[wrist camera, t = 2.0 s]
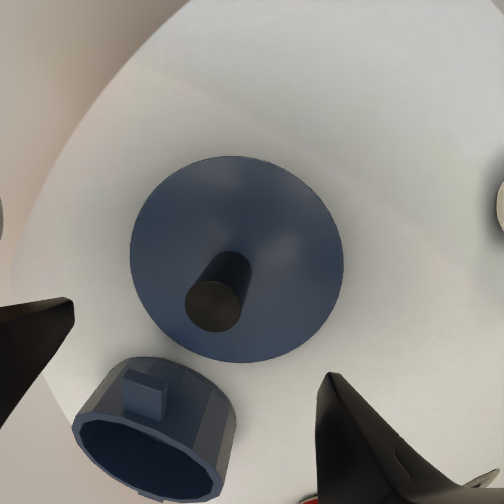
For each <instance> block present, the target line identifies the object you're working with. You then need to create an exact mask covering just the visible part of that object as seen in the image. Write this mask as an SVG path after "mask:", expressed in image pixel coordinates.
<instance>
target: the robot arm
mask: <svg viewBox="0 0 504 504" xmlns="http://www.w3.org/2000/svg"><path fill="white" fill-rule="evenodd" d="M74 322H75V316H74V304H73V301H72V300H70V299H68V298H65V297H59V298H53V299H47V300H41V301H35V302H29V303H23V304H17V305H11V306H4V307H0V429H1V427H2V426H3V424H4V423H5V421H6V420H7V418H8V417H9V415H10V414H11V413H12V411H13V410H14V408H15V407H16V405H17V404H18V403H19V401H20V400H21V398H22V397H23V396H24V394H25V393H26V391H27V390H28V389H29V387H30V386H31V385H32V383H33V382H34V381H35V379H36V378H37V377H38V375H39V374H40V373H41V372H42V370H43V369H44V368H45V366H46V365H47V364H48V363H49V361H50V360H51V359H52V357H53V356H54V355H55V353H56V352H57V350H58V349H59V347H60V346H61V344H62V343H63V341H64V339H65V338H66V336H67V335H68V333H69V332H70V330H71V329H72V327H73V326H74ZM315 447H316V466H317V491H318V504H504V488H469V487H463V486H460V485H458V484H456V483H454V482H453V481H451V480H450V479H449V478H447V477H446V476H445V475H444V474H442V473H441V472H440V471H439V470H437V469H436V468H435V467H434V466H432V465H431V464H430V463H429V462H427V461H426V460H425V459H424V458H423V457H422V456H420V455H419V454H418V453H417V452H416V451H415V450H414V449H413V448H412V447H411V446H410V445H409V444H408V443H407V442H406V441H405V440H404V439H403V438H402V437H399V434H398V433H397V432H396V431H395V430H394V429H393V428H392V427H391V426H390V425H389V424H388V423H387V422H386V421H385V420H384V419H383V418H382V417H381V416H380V415H379V414H378V413H377V412H376V411H375V410H374V409H373V408H372V407H371V406H370V405H369V404H368V403H367V402H366V400H365V399H364V398H363V397H362V396H361V395H360V394H359V393H358V392H357V391H356V390H355V389H354V388H353V387H352V386H351V385H350V384H349V383H348V382H347V381H346V380H345V379H344V377H343V376H342V375H341V374H339V373H333V372H328V373H327V374H326V375H325V377H324V380H323V382H322V384H321V386H320V388H319V390H318V394H317V407H316V423H315Z"/></svg>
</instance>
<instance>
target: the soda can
mask: <svg viewBox="0 0 504 504" xmlns="http://www.w3.org/2000/svg"><path fill="white" fill-rule="evenodd" d="M300 504H318V495H317V496H314V497H311V498H309V499H308V500H305V501H303V502H302V503H300Z"/></svg>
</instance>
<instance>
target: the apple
mask: <svg viewBox="0 0 504 504" xmlns="http://www.w3.org/2000/svg"><path fill="white" fill-rule="evenodd" d="M497 218H498V221H499V224H500V226H501V227H502V229H503V231H504V181H503V182H502V184H501V186H500V188H499V191H498V194H497Z"/></svg>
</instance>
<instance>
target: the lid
mask: <svg viewBox="0 0 504 504" xmlns="http://www.w3.org/2000/svg"><path fill="white" fill-rule="evenodd" d="M130 266H131V273H132V278H133V282H134V285H135V288H136V291H137V294H138V296H139V298H140V300H141V302H142V304H143V306H144V308H145V309H146V311H147V312H148V314H149V315H150V317H151V318H152V319H153V321H154V322H155V323H156V324H157V325H158V327H159V328H160V329H161V330H162V331H164V332H165V333H166V334H167V335H168V336H169V337H170V338H172V339H173V340H174V341H176V342H177V343H178V344H180V345H182V346H183V347H185V348H187V349H188V350H190V351H192V352H195V353H197V354H199V355H201V356H204V357H207V358H211V359H214V360H219V361H224V362H232V363H252V362H259V361H265V360H269V359H272V358H276V357H278V356H281V355H283V354H286V353H288V352H290V351H292V350H294V349H295V348H297V347H299V346H300V345H302V344H303V343H304V342H306V341H307V340H308V339H310V338H311V337H312V336H313V335H314V334H315V333H316V332H317V331H318V330H319V329H320V327H321V326H322V325H323V324H324V322H325V321H326V320H327V318H328V317H329V315H330V313H331V312H332V310H333V308H334V306H335V303H336V301H337V299H338V296H339V292H340V289H341V285H342V279H343V271H344V263H343V250H342V244H341V239H340V236H339V233H338V230H337V227H336V225H335V223H334V221H333V218H332V216H331V214H330V212H329V211H328V209H327V208H326V206H325V205H324V203H323V202H322V201H321V199H320V198H319V197H318V196H317V195H316V194H315V193H314V191H313V190H312V189H311V188H310V187H309V186H307V185H306V184H305V183H304V182H303V181H301V180H300V179H299V178H298V177H296V176H294V175H293V174H291V173H290V172H288V171H286V170H285V169H283V168H280V167H278V166H276V165H274V164H271V163H269V162H265V161H262V160H258V159H255V158H248V157H240V156H222V157H215V158H209V159H205V160H202V161H198V162H195V163H192V164H190V165H188V166H186V167H184V168H182V169H180V170H178V171H177V172H175V173H173V174H172V175H170V176H169V177H168V178H166V179H165V180H164V181H163V182H162V183H161V184H160V185H158V186H157V188H156V189H155V190H154V191H153V192H152V193H151V195H150V196H149V197H148V199H147V200H146V202H145V203H144V205H143V206H142V208H141V210H140V212H139V214H138V217H137V219H136V221H135V225H134V228H133V232H132V237H131V243H130Z"/></svg>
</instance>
